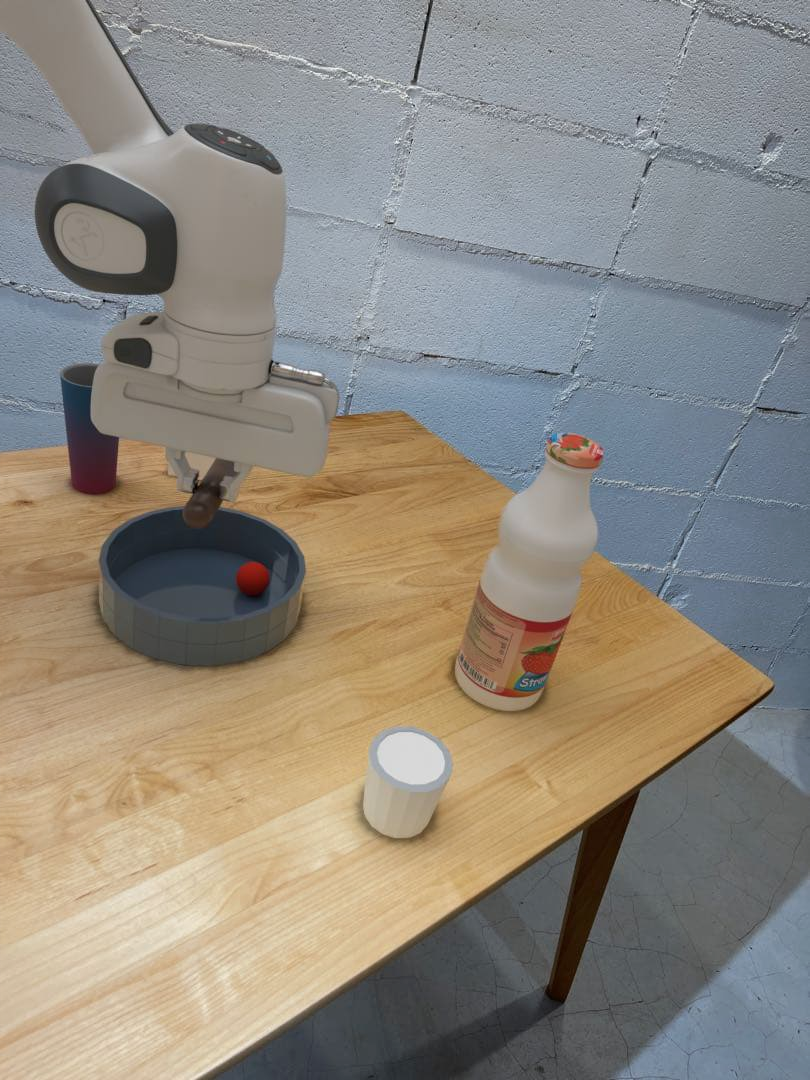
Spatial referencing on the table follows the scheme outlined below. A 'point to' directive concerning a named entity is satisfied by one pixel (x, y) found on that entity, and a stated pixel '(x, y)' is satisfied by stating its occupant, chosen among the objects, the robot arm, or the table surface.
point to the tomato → (252, 578)
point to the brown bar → (207, 495)
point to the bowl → (198, 586)
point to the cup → (86, 434)
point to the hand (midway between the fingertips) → (207, 494)
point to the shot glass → (404, 780)
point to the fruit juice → (531, 580)
